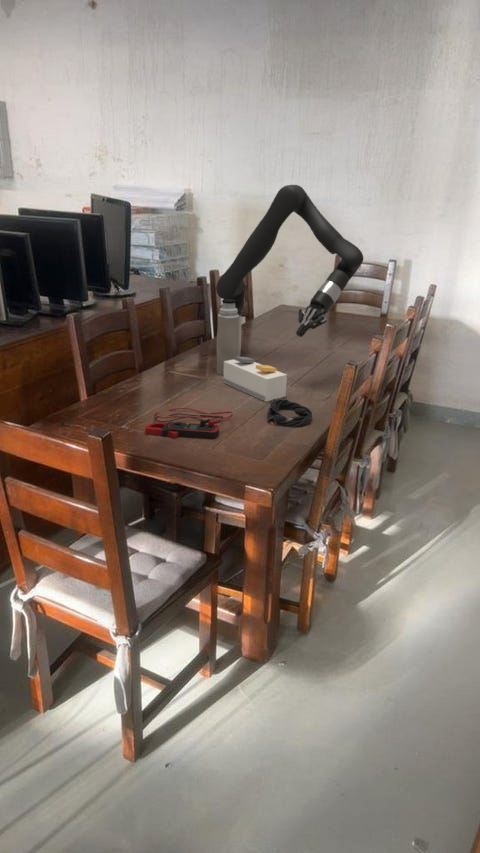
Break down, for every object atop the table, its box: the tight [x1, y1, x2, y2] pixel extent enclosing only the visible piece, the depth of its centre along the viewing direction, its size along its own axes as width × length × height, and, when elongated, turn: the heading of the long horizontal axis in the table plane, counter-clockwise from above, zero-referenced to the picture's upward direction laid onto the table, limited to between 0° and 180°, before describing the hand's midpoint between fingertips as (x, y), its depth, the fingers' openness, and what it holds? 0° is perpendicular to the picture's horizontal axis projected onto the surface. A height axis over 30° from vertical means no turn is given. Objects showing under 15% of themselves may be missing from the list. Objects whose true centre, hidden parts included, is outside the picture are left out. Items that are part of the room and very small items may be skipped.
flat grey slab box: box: [234, 356, 255, 364], centre depth 211 cm, size 4×6×2 cm, turn 128°
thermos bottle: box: [216, 299, 239, 376], centre depth 222 cm, size 8×8×28 cm
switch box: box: [222, 359, 288, 402], centre depth 209 cm, size 24×9×8 cm, turn 38°
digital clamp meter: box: [144, 407, 234, 440], centre depth 180 cm, size 23×4×25 cm
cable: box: [266, 398, 313, 428], centre depth 187 cm, size 17×14×4 cm
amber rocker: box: [256, 364, 277, 373], centre depth 203 cm, size 4×6×2 cm, turn 128°
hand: (298, 335), depth 208 cm, fingers closed
